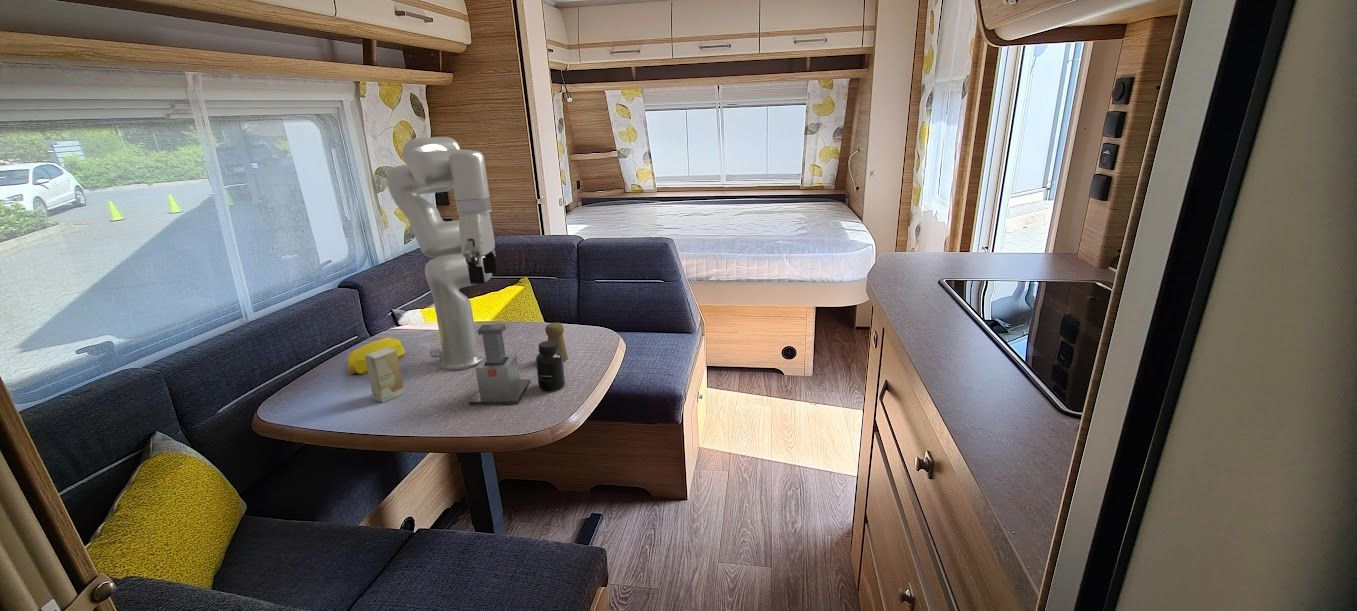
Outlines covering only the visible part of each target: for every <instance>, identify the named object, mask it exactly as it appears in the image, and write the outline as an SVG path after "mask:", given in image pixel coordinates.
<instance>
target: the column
mask: <svg viewBox="0 0 1357 611" xmlns="http://www.w3.org/2000/svg"><path fill="white" fill-rule="evenodd" d="M506 329H507V328H506V324H505V323H504V324H502V323H501V324H500V323H499V324H498V323H497V324H482V325H481V326H480V327H478V329H477V334H478V335H479V336H480V335H481V336H482V339H483V348H484V355H485V357H486V361H487V366H492V365H504V364H505V362H506V356H505V355H506V350H505V345H504V344H505V343H504V335H503V333H504V331H505V330H506Z"/></svg>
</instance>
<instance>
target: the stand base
mask: <svg viewBox="0 0 1357 611" xmlns="http://www.w3.org/2000/svg"><path fill="white" fill-rule="evenodd" d="M505 356H506V362H505V364H504V365H492V366H487V361H486V356H485V358H484V359H483V360H482V361H481V362H480V364H478V365H476V366H475V372H476V373H475V374H476V379H477V384H478V386H477V387H478V390H476V392H475V393H474V394H473V396H472V397H471V398H470V400H469V401H468V405H469V406H495V405H496V406H497V405H499V406H501V405H504V406H505V405H507V406H508V405H519V403H520V402H521V400H522V398H523V396H524V395H525V393H526V391H527V390H528V388H529V386H530V385H529V384H531V379H528V378H525V379H523V378H521V379H520V373H519V365H518V364H519V363H518V357H517V354H505ZM526 389H527V390H526Z"/></svg>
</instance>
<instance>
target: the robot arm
mask: <svg viewBox="0 0 1357 611" xmlns="http://www.w3.org/2000/svg"><path fill="white" fill-rule="evenodd" d="M401 154H402V158H403V160H404V162H405V164H402V165H396V166H394V167H392V168H391V169H389V170H388V172H387V175H386V184H387V188H388V191H389V194H390V195H391V198H392V200H393V202H394V203H395V205H396V206H397V207H398V209H399V210H400V211H401V212H402V213H403V215H404V216H405V218H406V219H407V221H408V223H409V226H410V228H411V230H412V233H413V235H414V237H415V239H416V242H417V244H418V246H419V249H420V250H421V252H422V254H423V255H424V256H426V257H429V258H431V259H430V260H428V262H426V264H425V267H424V275H425V279H426V281H427V284H428V286H429V289H430V293H431V296H432V300H433V304H434V310H435V315H436V322H437V326H438V327H437V328H438V331H439V336H440V337H439V338H440V342H441V347H440V348H430V350H429V353H430V357H431V358H439V361H438V366H439V367H440V368H441V369H443V370H446V371H460V370H461V371H462V370H466V369H469V368H473V367H477V366H478V365H479V364H480V362H481V361H482V360H483V359H484V358H485V357H486V355H485V352H484V351H481V350H479V348H478V347H479V346H478V338H477V333H476V326H475V321H474V315H473V308H472V303H471V300H470V298H468V296H466V295H465V294H463V292H461V291H460V289H462V288H466V287H471V286H475V285H482V284H485V283H486V282H488V281H489V280H490V279H491V278H492V276H493V274H497V273H498V272H499V270H498V263H497V253H496V251H495V250H496V243H495V234H494V229H493V223H492V219H491V212H492V211H493V210H492V203H491V198H490V189H489V184H488V176H487V169H486V163H485V157H484V155H483V153H482V152H481V151H478V150H471V149H467V148H465V149H462V148H461V147H460V145H459V143H458V142H457V141H456V140H455V139H454V138H452V137H449V136H436V137H434V136H433V137H417V138H412V139H410V140H409V141H407V142H406V143H405V144H404V145H403V147H402V152H401ZM452 189H453V194H454V200H455V206H456V211H457V215H458V219H457V220H450V221H449V220H447V221H446V220H443V218H442V216H441V214H440V212H439V210H438V208H437V207H436V206H435V205H434V204H433V203H432V202H430V201H428V200H427V199H425V198H423V197H421V196H420V195H425V194H434V193H445V192H448V191H451V190H452Z"/></svg>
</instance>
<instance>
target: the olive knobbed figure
mask: <svg viewBox="0 0 1357 611" xmlns="http://www.w3.org/2000/svg"><path fill="white" fill-rule="evenodd" d="M564 328H565V327H564V326H563V324H562V323H561V322H551V323H548V324H547V325H546V326H545V328H544V330H545V331H544V332H545V334H546V335H547V341H555V342H557V343H558V351H559V352H561V354H562V356H563V363H565V362H567V361H568V360H569V355H568V352H567V347H566V344H565V343H566V342H565V340H564V336H563V334H564V332H565V330H564ZM566 360H567V361H566Z"/></svg>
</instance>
